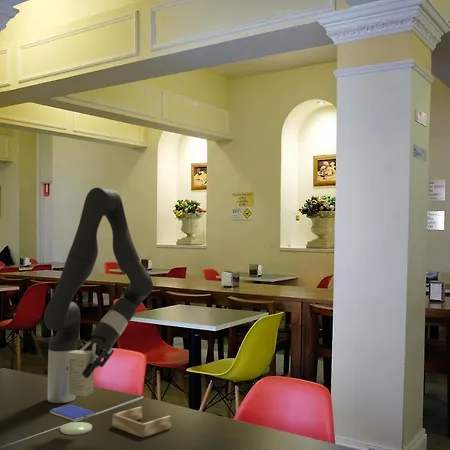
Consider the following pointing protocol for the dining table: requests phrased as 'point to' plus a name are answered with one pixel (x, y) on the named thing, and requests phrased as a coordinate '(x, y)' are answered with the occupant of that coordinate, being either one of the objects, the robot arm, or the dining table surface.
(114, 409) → the dining table surface
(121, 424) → the holder
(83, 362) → the skincare box
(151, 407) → the dining table surface
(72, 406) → the hard drive
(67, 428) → the pale green round disc
